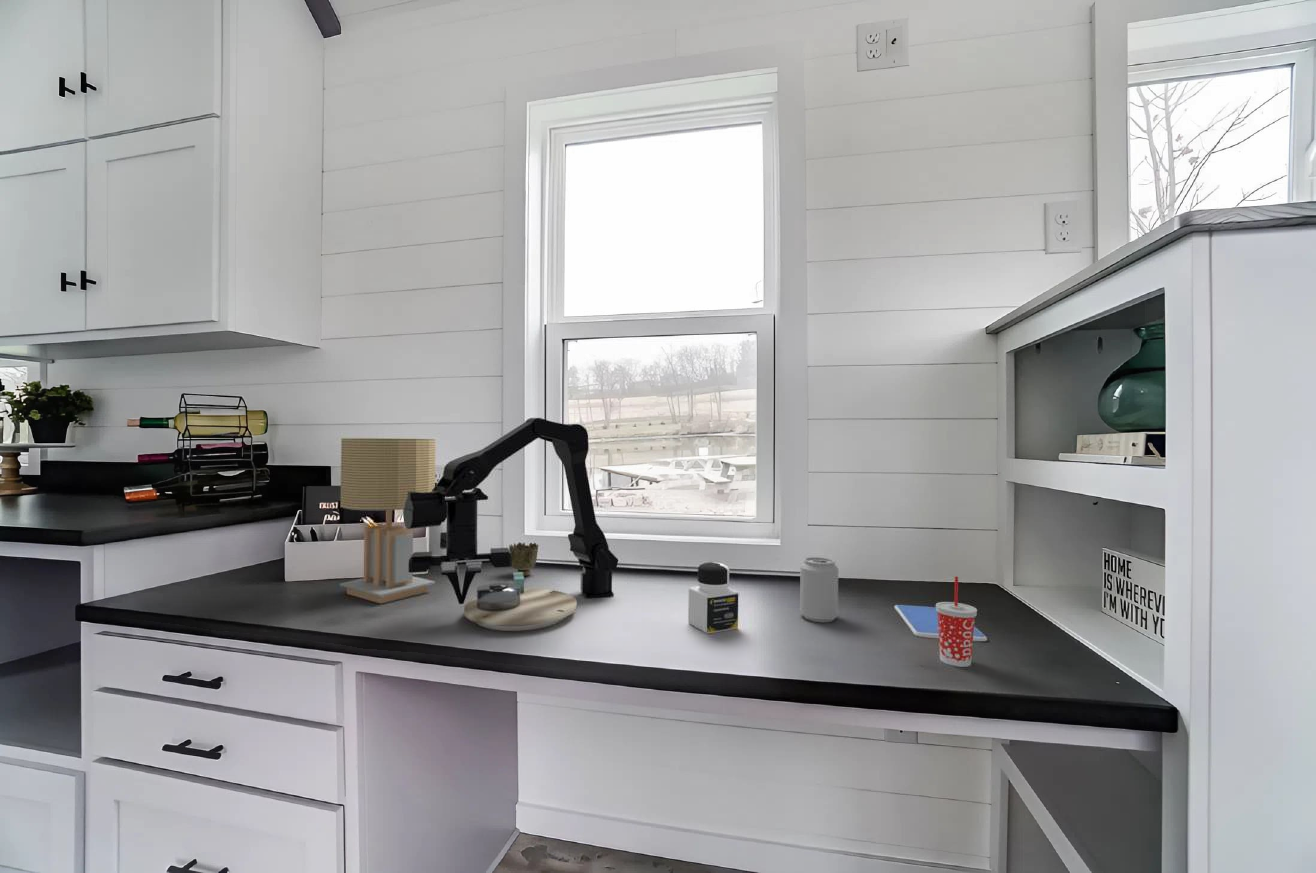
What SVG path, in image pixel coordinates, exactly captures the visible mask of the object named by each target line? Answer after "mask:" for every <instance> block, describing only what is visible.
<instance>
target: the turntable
mask: <svg viewBox="0 0 1316 873" xmlns="http://www.w3.org/2000/svg"><path fill="white" fill-rule="evenodd" d="M512 574H513V575H512V576H513V579H512V580H513V581H512V583H516V584H519V585H520V605H519V606H518V607H516V608H514V609H511V610H506V611H483V610H479V609H478V608H477V607H476V605H477V596H476V597H475V598H473V599H470V600H469V601H468V602H466V603H465V604H464V607H463V609H464V610H463V614H464V617H465V618H467V620H469V621H471V622H474V623H475V624H477V623H480V624H485V625H492V626H529V625H537V624H543V623H548V622H552V621H556V620H559V619H562V618H564V619H566V618H567V617H569V616H570V615H571V614H573V613H575V611H576V610H577V603H578V602H577V599H576V598H575V597H574V596H573V595H571V594H569V593H566V592H562V591H557V590H555V589H554V590H552V589H546V588H545V589H543V588H525V576H523V572H519V573H516V572H512Z"/></svg>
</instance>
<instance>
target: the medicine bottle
mask: <svg viewBox="0 0 1316 873" xmlns="http://www.w3.org/2000/svg"><path fill="white" fill-rule="evenodd" d="M687 606H688V609H687V610H688V614H687V615H688V616H687V617H688V619H687V622H688V624H690V625H691V626H692V627H695V628H696V629H698V630H700V631H701V632H703V633H705V634H707V635H708V634H714V633H715V634H716V633H719V632H720V633H721V632H726V631H732V630H737V629H738V628H739V592H738V591H737V590H734V589H732V588H730V568H729V566H727V565H726V564H724V563H721V562H712V561H711V562H710V561H709V562H704V563H702V564H699V566H698V567H697V586H690V587H689V588H688V605H687Z"/></svg>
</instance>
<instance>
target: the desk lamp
mask: <svg viewBox="0 0 1316 873" xmlns="http://www.w3.org/2000/svg"><path fill="white" fill-rule="evenodd" d="M340 444H341V445H340V446H341V447H340V450H341V451H340V453H341V454H340V506H339V507H340V508H342V509H346V510H351V511H385V524H377V525H371V526H364V532H363V533H364V534H363V536H364V537H363V539H364V540H363V578H360V579H359V578H358V579H354V580H350V581H344V582H341V583H339V586H340V587H343V588H346V594H347V595H351V596H354V597H356V598H360V599H364V600H368V601H371V602H375V603H378V604H385V603H386V604H387V603H390V602H394V601H399V600H401V599H405V598H406V599H407V598H410V597H414V596H417V595H420V594H425V593H428V592H429V586H431V585H435V584H436V581H434V580H430V579H426V578H421V577H419V576H418V577H417V576H413V573H410V572H409V559H410V557H411V555H412V554H413V553H414V529H407V528H406V527H405V528H404V526H403V525H393V511H398V510H399V511H400V510H403V508H405V502H406V500H407V494H408V492H432V490H433V488H434V487H435V486H436V483H435V482H436V479H435V478H436V439H435V438H434V439H433V438H432V439H431V438H379V437H377V438H374V437H373V438H372V437H370V438H367V437H365V438H363V437H362V438H359V437H358V438H357V437H355V438H354V437H351V438H350V437H348V438H345V437H344V438H341V443H340Z"/></svg>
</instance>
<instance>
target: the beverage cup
mask: <svg viewBox="0 0 1316 873" xmlns="http://www.w3.org/2000/svg"><path fill="white" fill-rule="evenodd" d="M958 596H959V576H954V601H939V602H936V604H935V607H936V610H937V611H938V630H939V638H938V642H939V643H938V645H939V659H940V661H941V662H942V663H944V664H946V665H949V666H952V667H960V668H964V667H970V666H972V657H973V656H972V655H973V642H974V641H973V633H974V627H975V619H976V617H977V615H978V614H977V613H978V609H977V608H976V607H975V606H972V605H970V604H965V603H962V602H961V603H960V602H959V597H958Z"/></svg>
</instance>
